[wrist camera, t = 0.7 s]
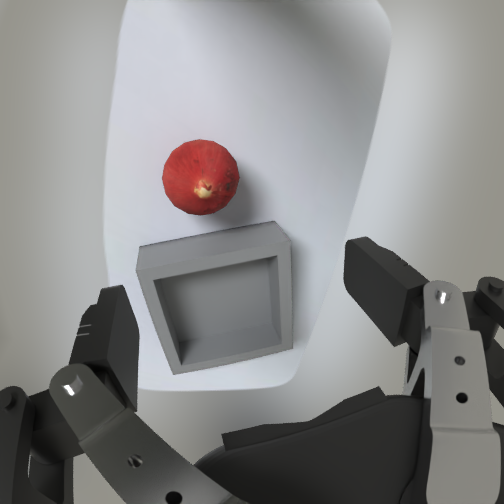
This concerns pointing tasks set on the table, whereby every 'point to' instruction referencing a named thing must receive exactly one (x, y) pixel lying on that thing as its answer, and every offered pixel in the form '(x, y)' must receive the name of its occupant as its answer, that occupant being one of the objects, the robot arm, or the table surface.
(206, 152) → the pomegranate
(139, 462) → the robot arm
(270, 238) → the box
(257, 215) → the table surface
